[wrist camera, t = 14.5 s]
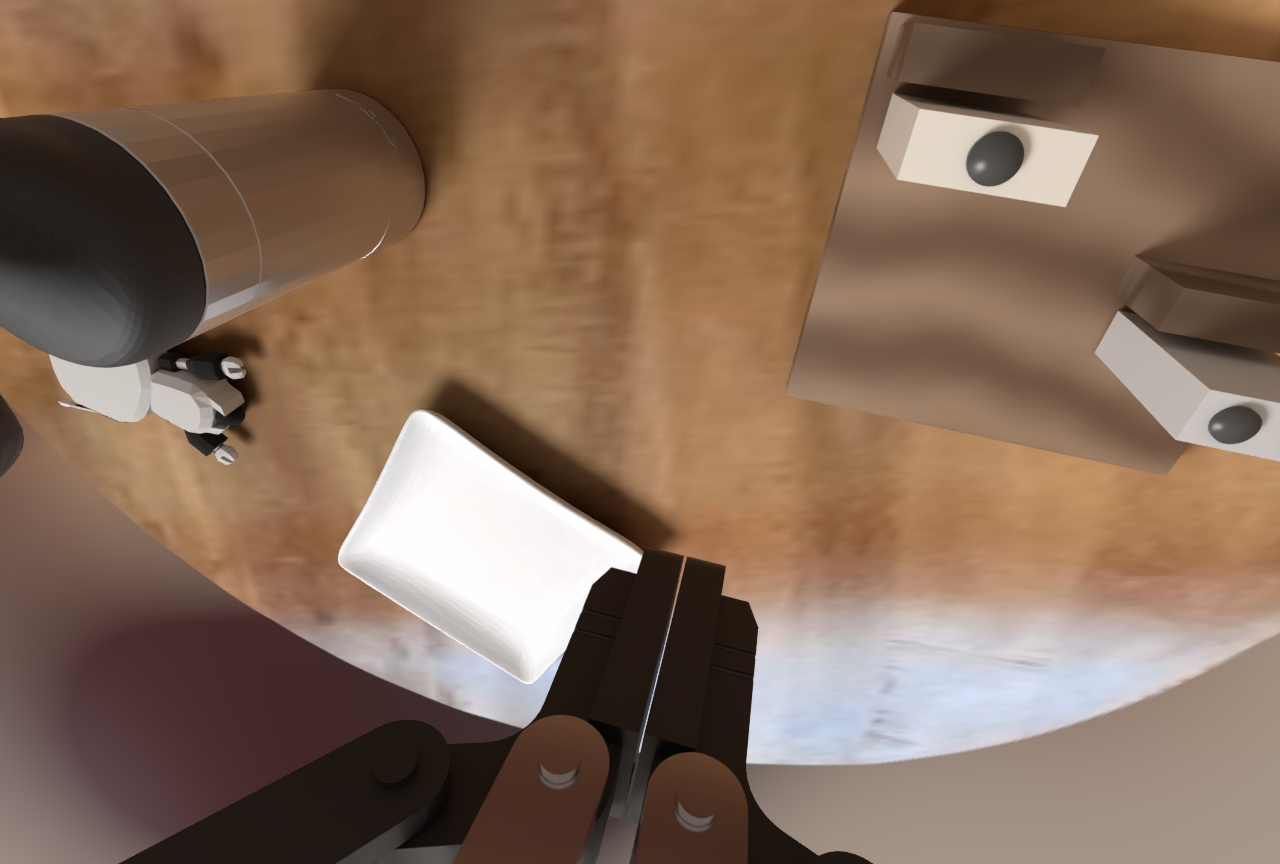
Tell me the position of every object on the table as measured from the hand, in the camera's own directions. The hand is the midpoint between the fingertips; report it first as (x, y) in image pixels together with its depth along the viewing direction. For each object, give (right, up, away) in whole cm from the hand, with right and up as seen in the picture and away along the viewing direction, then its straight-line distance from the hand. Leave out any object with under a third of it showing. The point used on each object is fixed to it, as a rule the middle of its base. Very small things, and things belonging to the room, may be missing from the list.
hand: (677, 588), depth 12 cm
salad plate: (-13, -6, +43) cm, 45 cm away
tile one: (+14, +17, +18) cm, 29 cm away
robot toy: (-39, +9, +41) cm, 57 cm away
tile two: (+27, +8, +21) cm, 35 cm away
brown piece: (+20, +11, +23) cm, 32 cm away
